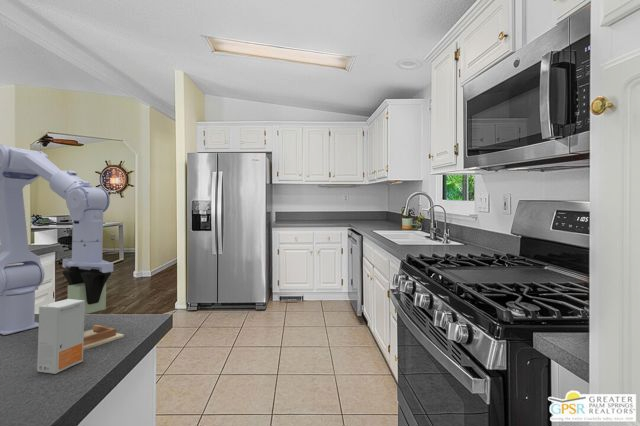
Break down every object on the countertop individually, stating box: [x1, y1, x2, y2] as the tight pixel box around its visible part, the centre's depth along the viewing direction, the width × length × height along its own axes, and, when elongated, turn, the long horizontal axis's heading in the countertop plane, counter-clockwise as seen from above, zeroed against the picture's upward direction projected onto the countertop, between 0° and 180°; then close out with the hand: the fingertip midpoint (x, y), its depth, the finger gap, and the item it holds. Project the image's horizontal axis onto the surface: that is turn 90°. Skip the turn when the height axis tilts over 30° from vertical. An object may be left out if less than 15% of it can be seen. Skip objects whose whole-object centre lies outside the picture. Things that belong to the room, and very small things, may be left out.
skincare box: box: [36, 298, 86, 375], centre depth 67 cm, size 6×4×12 cm
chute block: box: [66, 282, 107, 315], centre depth 80 cm, size 4×6×6 cm, turn 156°
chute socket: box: [83, 324, 125, 352], centre depth 80 cm, size 10×12×2 cm
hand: (86, 302), depth 80 cm, fingers closed on chute block, 4 cm apart
